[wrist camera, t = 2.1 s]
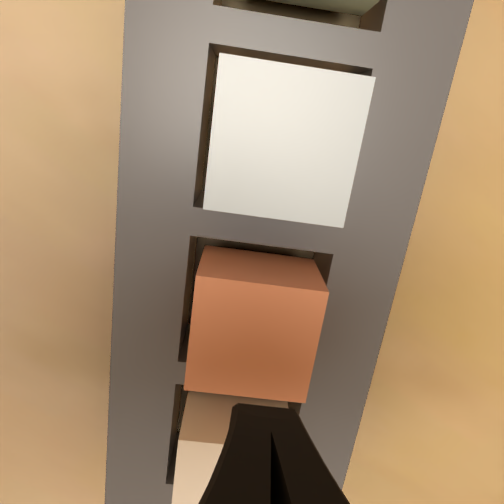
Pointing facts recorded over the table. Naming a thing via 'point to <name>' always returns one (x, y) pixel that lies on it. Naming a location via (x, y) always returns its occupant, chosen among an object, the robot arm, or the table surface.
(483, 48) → the table surface
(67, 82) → the table surface
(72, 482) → the table surface
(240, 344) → the key terracotta
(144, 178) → the grey slotted tray
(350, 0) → the key sage
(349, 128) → the white square block
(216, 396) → the key ivory
